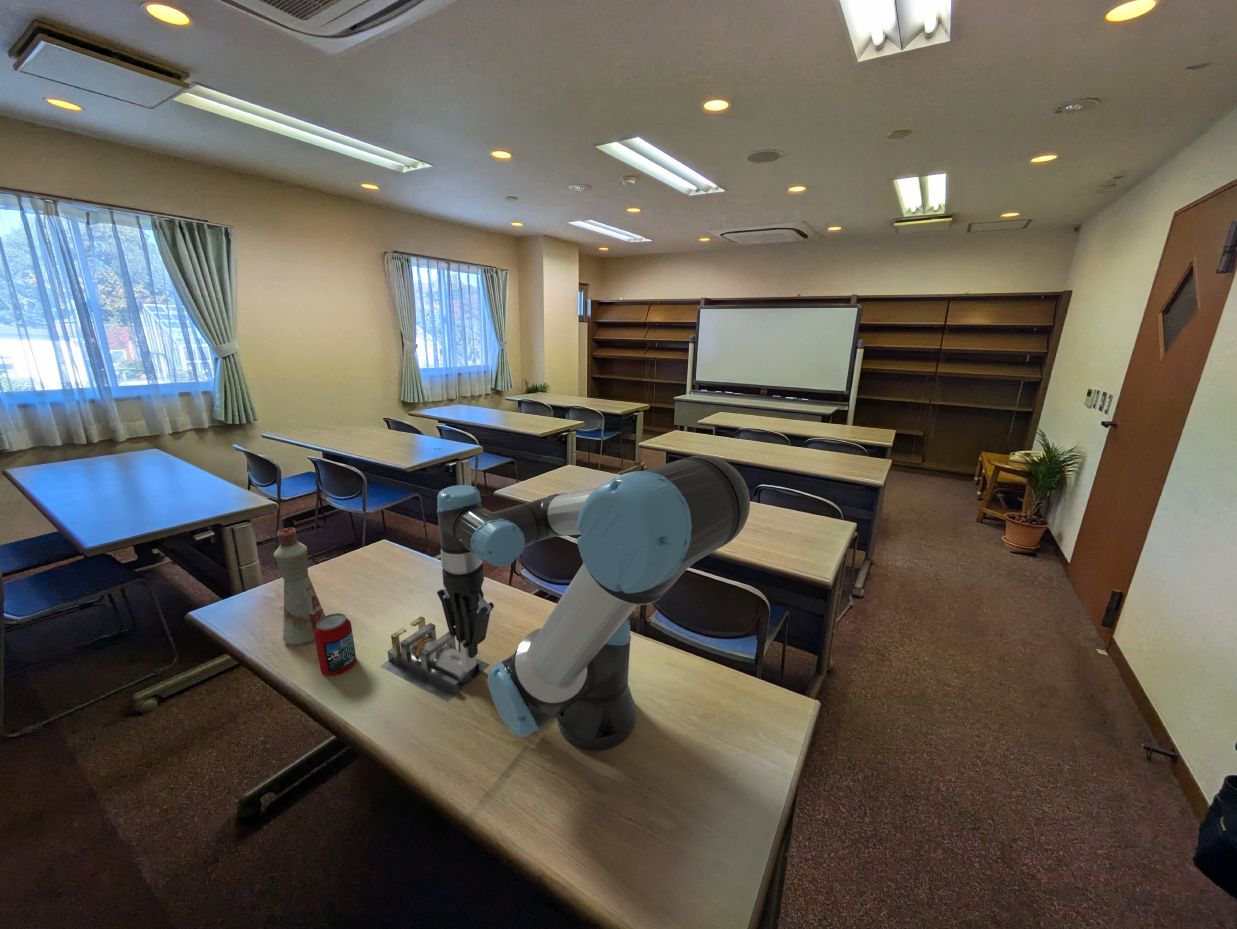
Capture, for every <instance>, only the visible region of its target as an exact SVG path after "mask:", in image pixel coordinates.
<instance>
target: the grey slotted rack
mask: <svg viewBox="0 0 1237 929" xmlns="http://www.w3.org/2000/svg"><path fill="white" fill-rule="evenodd" d="M410 626H412V627H414V628H415V627H416V626H417V627H418V630H416V631H415V632H414V633H412V634H411V635H409V636H408V637H406V638H405V639H402V641H400V636H402V635H404V634H405V633H406V632H407V629H406V628H404V627H402V628H400V629H399V630H397V631H395V632H394V633H392V634H391V635H390V638H391V647H392V648H390V649H389V650H387V651H386V652H387V661H386V662H384V663H383V664H381V665H379V667H381V668H383V669H384V670H386V671H388V672H390V673H392V674H394V675H395V676H397V677H399V678H401V679H403V680H405V681H407V682H409V683H411V684H413V685H414V686H416V687H419V688H420V689H422V690H424V691H426V692H428V693H430V694H432V695H434V696H436V697H438V698H439V699H441V700H444V702H448V701H450V700H451V699H452V698H454V696H456V695H457V694H458V693H459V692H460V691H461V690H463V689H464V688H465V687H466V686H467V685H468V684H470V682H472V681H473V680H475V678H476V677H477V676H479V675H480V674H481V673H482V672H483V671H484V670H486V669H487V668H488V667H489V666H490V664H489V663H487V662H484V661H483V660H480V659H479V658H476V660H477V665H476V669H475V671H474V673H473V675H472V676H471V678H470V679H469V680H468V681H466V682H464V683H461V682H459V681H457V680H455V679H453V678H451V677H449V676H447V675H445V674H443V673H441V672H439V671H437V670H435V669H433V668H431V661H430V655H431V654H433V653H434V652H436V651H437V650H438V649H440V648H441V647H442V646H444V645H446V646H448V647H451V648H453V649H455V650H457V651H459V649H457V644H456V643H457V642H456V636H455V635H454V636H451V635H450V633H449V631H447V632H446V633H444V634H443V635H442V636H441V637H439V638H438V639H437V632H436V631H437V630H436V624H434V623H432V622H429V623H427V624H426V618H425V617H424V616H419V617H418V618H416V619H414V620H413V621H411V622H410ZM424 636H427V637H429V638H431V639H434V640H435V642H433V643H432V644H430V645H429V646H428V647H426V648H425V649H423V650H422V651H420V655H421V662H419V661H417V660H415V659H413V658H412V656H411V649H412V646H413V645H414V643H415V642H417V641H418V640H420V639H421V638H423V637H424Z"/></svg>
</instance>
